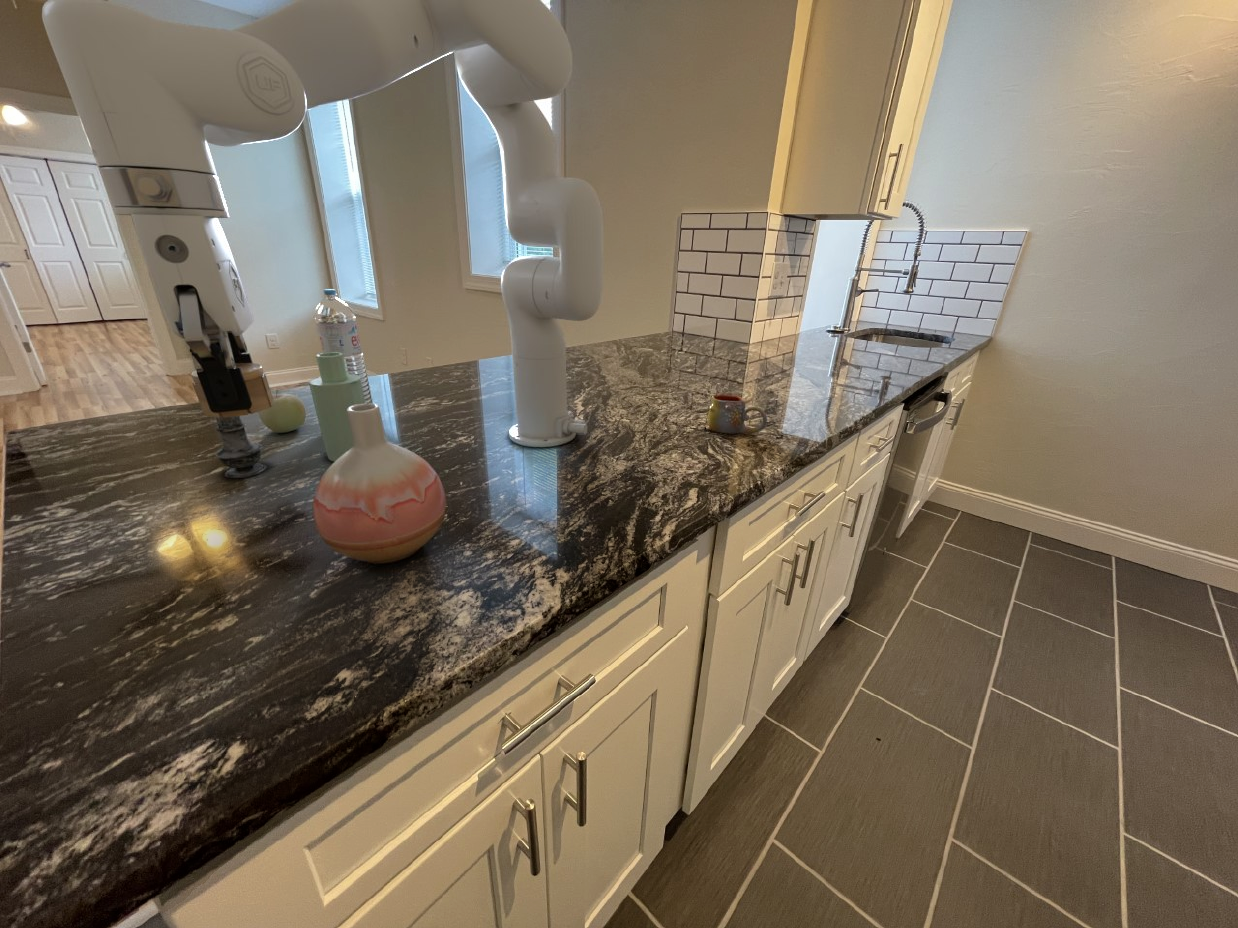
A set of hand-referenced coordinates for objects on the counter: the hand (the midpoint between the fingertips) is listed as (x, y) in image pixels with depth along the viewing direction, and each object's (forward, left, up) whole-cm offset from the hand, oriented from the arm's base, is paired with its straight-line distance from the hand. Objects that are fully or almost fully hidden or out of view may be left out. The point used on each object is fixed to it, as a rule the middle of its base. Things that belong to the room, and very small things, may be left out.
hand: (237, 399), depth 49 cm
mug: (-47, -60, -19) cm, 78 cm away
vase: (-11, -5, -19) cm, 22 cm away
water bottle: (+28, -41, -19) cm, 53 cm away
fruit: (+35, -31, -19) cm, 50 cm away
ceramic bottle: (+15, -26, -19) cm, 35 cm away
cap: (0, 0, -1) cm, 1 cm away
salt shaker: (+25, -15, -19) cm, 35 cm away
